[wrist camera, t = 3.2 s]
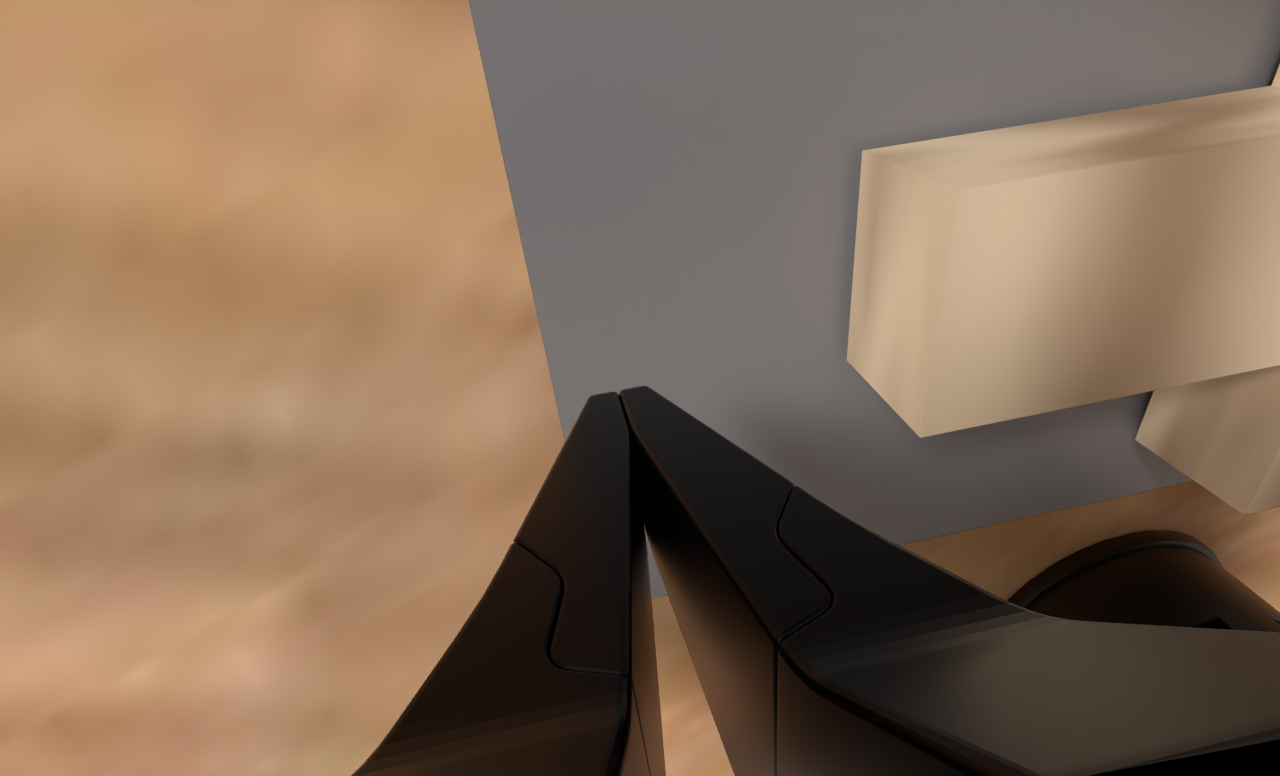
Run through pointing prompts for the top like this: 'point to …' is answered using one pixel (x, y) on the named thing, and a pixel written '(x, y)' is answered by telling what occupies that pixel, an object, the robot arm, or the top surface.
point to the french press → (1148, 587)
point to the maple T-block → (1086, 279)
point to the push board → (810, 214)
